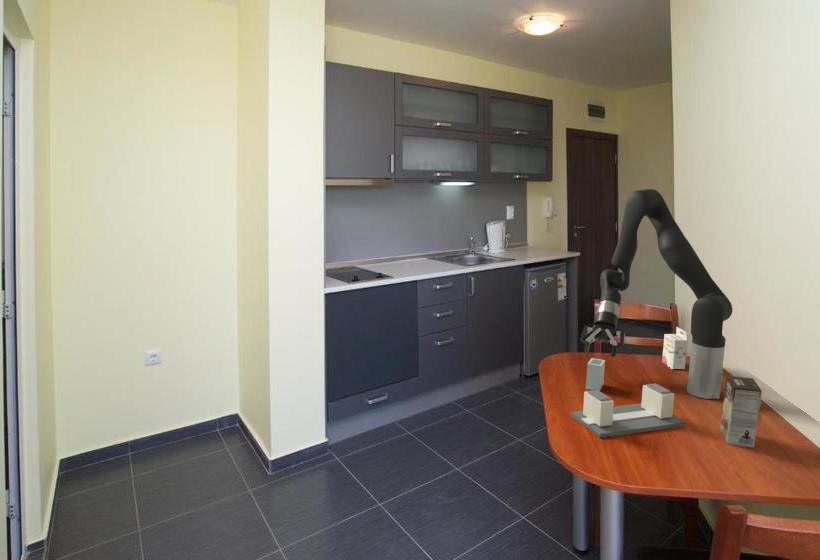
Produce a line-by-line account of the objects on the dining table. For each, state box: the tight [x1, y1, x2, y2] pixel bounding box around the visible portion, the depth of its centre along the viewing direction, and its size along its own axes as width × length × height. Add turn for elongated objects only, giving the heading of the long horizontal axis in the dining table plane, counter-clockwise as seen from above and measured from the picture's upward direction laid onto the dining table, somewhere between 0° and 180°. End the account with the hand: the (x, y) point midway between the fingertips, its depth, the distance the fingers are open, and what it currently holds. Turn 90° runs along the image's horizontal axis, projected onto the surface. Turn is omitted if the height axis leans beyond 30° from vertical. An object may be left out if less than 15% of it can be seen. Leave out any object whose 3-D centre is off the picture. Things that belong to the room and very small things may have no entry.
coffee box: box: [720, 375, 762, 449], centre depth 130 cm, size 9×6×16 cm
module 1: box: [582, 390, 615, 426], centre depth 138 cm, size 4×8×8 cm, turn 14°
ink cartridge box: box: [661, 326, 688, 370], centre depth 185 cm, size 9×5×15 cm, turn 179°
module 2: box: [640, 382, 675, 419], centre depth 143 cm, size 4×8×8 cm, turn 14°
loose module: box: [585, 357, 606, 392], centre depth 166 cm, size 4×7×9 cm, turn 149°
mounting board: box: [570, 402, 687, 439], centre depth 141 cm, size 28×14×2 cm, turn 104°
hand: (599, 354), depth 170 cm, fingers open, 8 cm apart
